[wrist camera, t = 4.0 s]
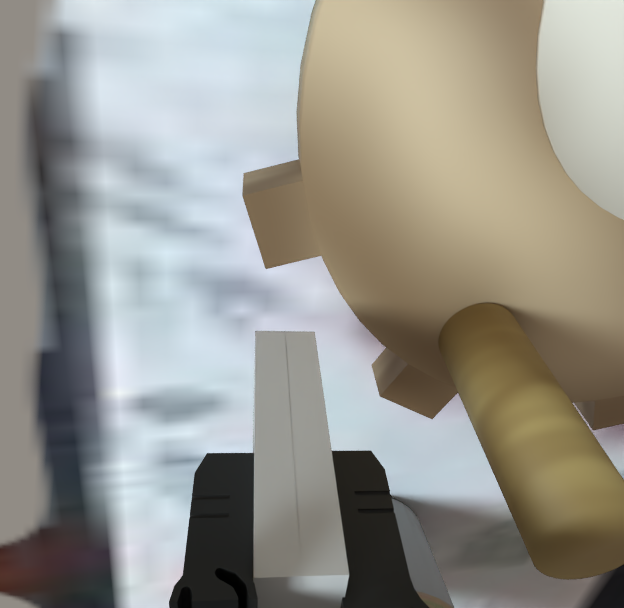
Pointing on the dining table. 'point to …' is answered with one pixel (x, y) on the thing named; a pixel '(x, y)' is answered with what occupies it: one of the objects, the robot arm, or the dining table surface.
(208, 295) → the dining table surface
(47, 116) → the dining table surface
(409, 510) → the coffee cup
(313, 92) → the turntable
